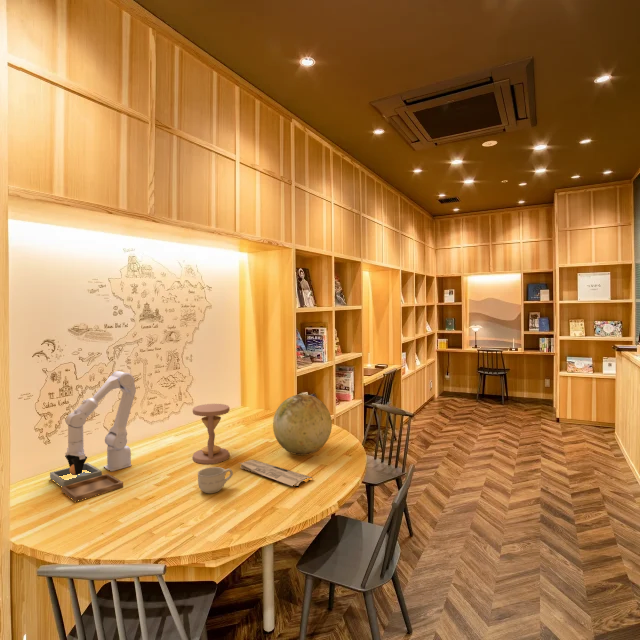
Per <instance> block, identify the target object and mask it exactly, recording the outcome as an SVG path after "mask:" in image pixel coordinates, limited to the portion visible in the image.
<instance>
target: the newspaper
mask: <svg viewBox="0 0 640 640" xmlns="http://www.w3.org/2000/svg"><path fill="white" fill-rule="evenodd" d="M237 463H238V465H240V469H242V470H244V469H245V470H244V471H247V470H248V472H250V471H251V472H250V473H254V474H256V475H257V474H258V475H260V476H263V477H265V478H269V479H271V480H274V481H277V482H280V483H283V484H284V485H288V486H290V487H295V486H299V484H300V483H301V482H303V480H305V479H307V478H313V477H312V476H309V475H305V474H302V473H299V472H297V471H296V472H295V471H293V470H289V469H286V468H283V467H279V466H276V465H273V464H269V463H265V462H263V461H259V460H255V459H250V460H246V461H244V462H237ZM293 485H295V486H293Z"/></svg>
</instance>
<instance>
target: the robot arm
mask: <svg viewBox="0 0 640 640" xmlns="http://www.w3.org/2000/svg"><path fill="white" fill-rule="evenodd" d="M135 380H136V379H135V377H134V376H133V375H132V374H131V373H130V372H123V371H120V370H116V371H114V372H113V373H112V374H111V375H110V376H108V378H107V380H106V381H105V382H104V383H103V384H102V385H101V386H100V388H99V389H98V390H97V391H96V392H95V393H94V394H93V396H92V397H89V398H86V399H83V400H82V401H81V404H80V405H79V406H77V408H76V409H74V410H73V411H72V412H70V413H69V414H68V415H67V416H66V419H65V423H66V425H67V448H66V452H65V453H64V457H65V459H66V461H67V463H68V465H69V467H71V465H73V464H74V467H75V473H76V474H80V473H82V470H83V466H84V464H85V463H86V461H87V459H88V456H86V453H85V449H84V448H85V447H84V446H85V445H84V425H85V423H86V422H87V419H88V418H89V416H90V415H92V413H93V412H94V411H95V410H96V409H97V408H98V405H99V402H101V400H103V399H104V397H106V396H107V395H108V394H109V393H110V392H111V391H112V390H116V389H119V390H120V391H121V393H122V394H121V398H120V401H119V405H118V408H117V412H116V415H115V419H114V421H113V422H114V423H113V424H112V425H113V426H112V427H110V428H109V430H108V433H107V434H106V436H105V438H104V443H105V444H106V445H107V449H106V450H107V451H106V453H107V459H106V464H107V465H104V466H103V468H104V467H105V468H104V469H106V470H108V471H109V470H110V472H115V471H118V470H121V469H125V468H129V467H131V466H132V465H133V464H132V461H131V460H132V457H131V456H132V454H131V453H132V452H131V448H130V446H129V445H127V444H128V439H127V437H128V432H127V424H128V422H129V421H128V420H129V417H130V413H131V409H132V407H133V402H134V399H135V396H136V391H137V388H136V384H135Z"/></svg>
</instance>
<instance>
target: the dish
mask: <svg viewBox="0 0 640 640" xmlns="http://www.w3.org/2000/svg"><path fill="white" fill-rule="evenodd" d="M69 469H70V466H69V467H66V468H62V469H59V470H55V471H51V472H49V479H50V478H51V479H52V480H54V481H55V482H56V483H58V484H59V485H60V486H62V487H63V486H67V485H70V484H73V483H77V482H80V481H84V480H87V479H91V478H94V477H97V476H101V475H103V473H102V470H101V469H99V468H97V467H96V466H94V465H92V464H90V463H88V462H85V463H84V466H83V470H87V471H89V472H91V473H85V472H83V473H80V475H77V477H76V478H72V479H69V480H64V479H62V478H61V477H59V476H63V475H67V474H70V471H69ZM52 480H51V481H52ZM56 483H55V484H56ZM60 486H59V487H60Z"/></svg>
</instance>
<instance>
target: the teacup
mask: <svg viewBox="0 0 640 640" xmlns="http://www.w3.org/2000/svg"><path fill="white" fill-rule="evenodd" d="M228 472H229V473H230V474H229V475H228V476H227V477H226V474H227V473H228ZM233 475H234V473H233V469H232V468H226V469H225V468H223V467H219V466H212V467H210V466H209V467H206V468H202V469H200V470H199V471H198V472H197V483H198V488H199V490H201V491H202V492H203V493H204V494H213V493H217V492H219V491H221V490H222V488H223V487H224V486H225V484H226V483H227V482H228V481H230V479H231V478H232V477H233Z"/></svg>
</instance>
